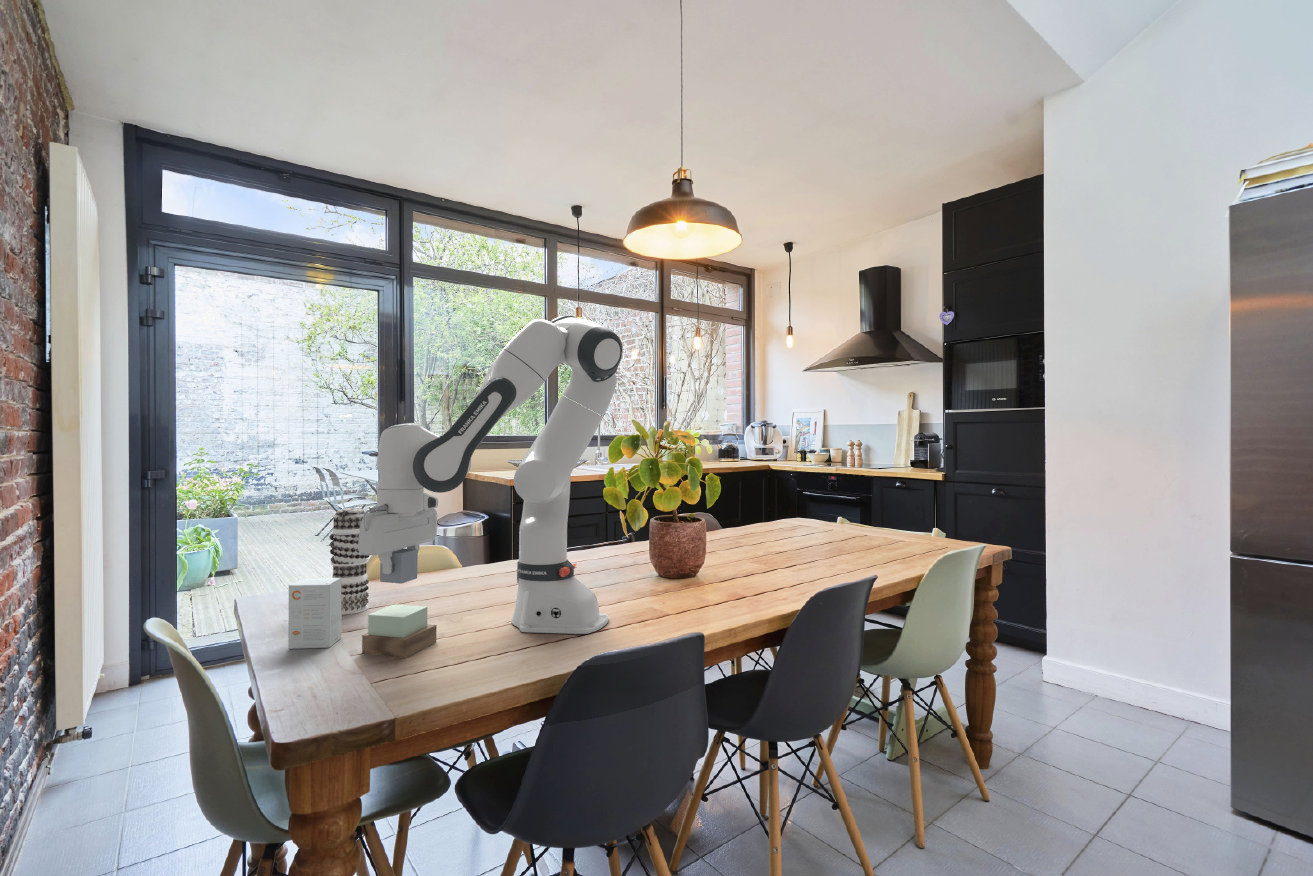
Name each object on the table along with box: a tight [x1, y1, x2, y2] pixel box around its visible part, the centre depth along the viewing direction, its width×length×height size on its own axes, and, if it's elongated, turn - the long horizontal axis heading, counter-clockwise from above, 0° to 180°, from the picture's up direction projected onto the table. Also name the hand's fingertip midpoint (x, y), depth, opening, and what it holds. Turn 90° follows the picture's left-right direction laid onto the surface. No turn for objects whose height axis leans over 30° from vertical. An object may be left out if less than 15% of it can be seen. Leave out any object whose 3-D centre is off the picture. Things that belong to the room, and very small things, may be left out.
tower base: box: [361, 623, 437, 659], centre depth 126 cm, size 10×10×4 cm
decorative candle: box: [328, 507, 370, 615], centre depth 153 cm, size 9×9×25 cm
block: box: [379, 548, 419, 585], centre depth 126 cm, size 5×5×6 cm
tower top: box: [367, 603, 428, 638], centre depth 126 cm, size 8×8×4 cm
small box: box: [287, 577, 343, 650], centre depth 128 cm, size 8×6×13 cm
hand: (399, 570), depth 126 cm, fingers closed on block, 5 cm apart
